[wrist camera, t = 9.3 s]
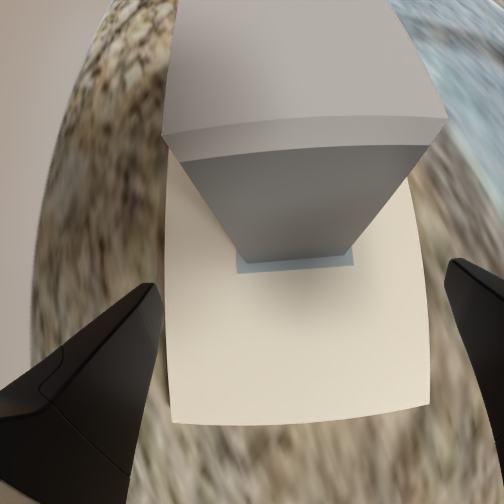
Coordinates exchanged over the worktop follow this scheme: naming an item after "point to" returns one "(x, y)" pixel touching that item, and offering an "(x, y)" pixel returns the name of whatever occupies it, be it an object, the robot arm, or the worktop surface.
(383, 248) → the board
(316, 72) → the plug block
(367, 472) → the worktop surface
